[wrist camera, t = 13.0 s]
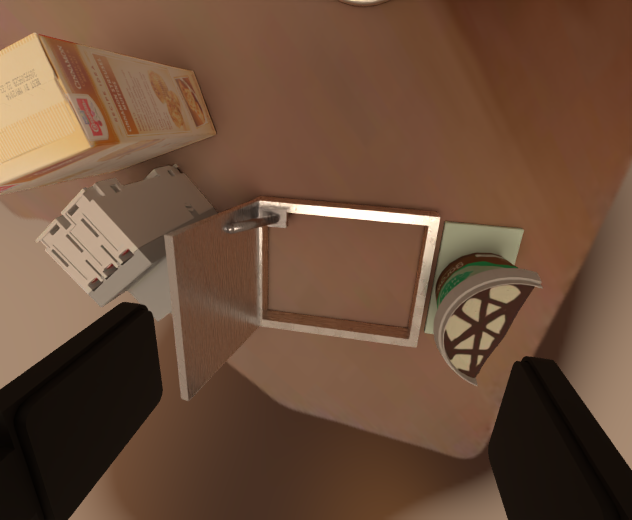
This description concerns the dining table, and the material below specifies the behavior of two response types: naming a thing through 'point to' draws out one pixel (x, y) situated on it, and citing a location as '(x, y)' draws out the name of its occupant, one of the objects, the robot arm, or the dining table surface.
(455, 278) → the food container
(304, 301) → the dining table surface
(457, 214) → the dining table surface
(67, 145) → the coffeecake box
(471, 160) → the dining table surface
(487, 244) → the mat
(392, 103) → the dining table surface
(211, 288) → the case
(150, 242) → the circuit breaker
